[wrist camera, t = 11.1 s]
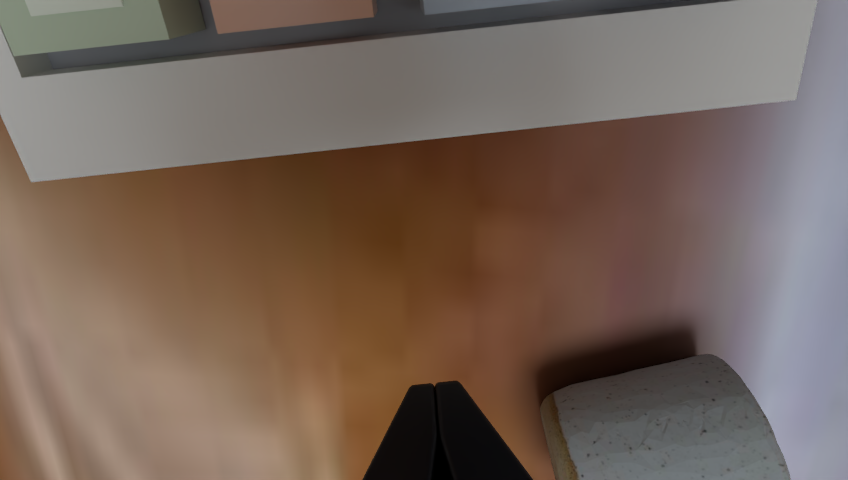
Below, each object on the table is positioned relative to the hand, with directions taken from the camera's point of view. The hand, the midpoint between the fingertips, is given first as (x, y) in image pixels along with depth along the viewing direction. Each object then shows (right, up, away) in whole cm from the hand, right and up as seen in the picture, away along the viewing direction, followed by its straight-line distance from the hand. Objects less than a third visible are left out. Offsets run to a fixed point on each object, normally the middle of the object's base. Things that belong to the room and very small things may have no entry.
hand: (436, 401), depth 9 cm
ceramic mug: (+10, -6, +18) cm, 21 cm away
